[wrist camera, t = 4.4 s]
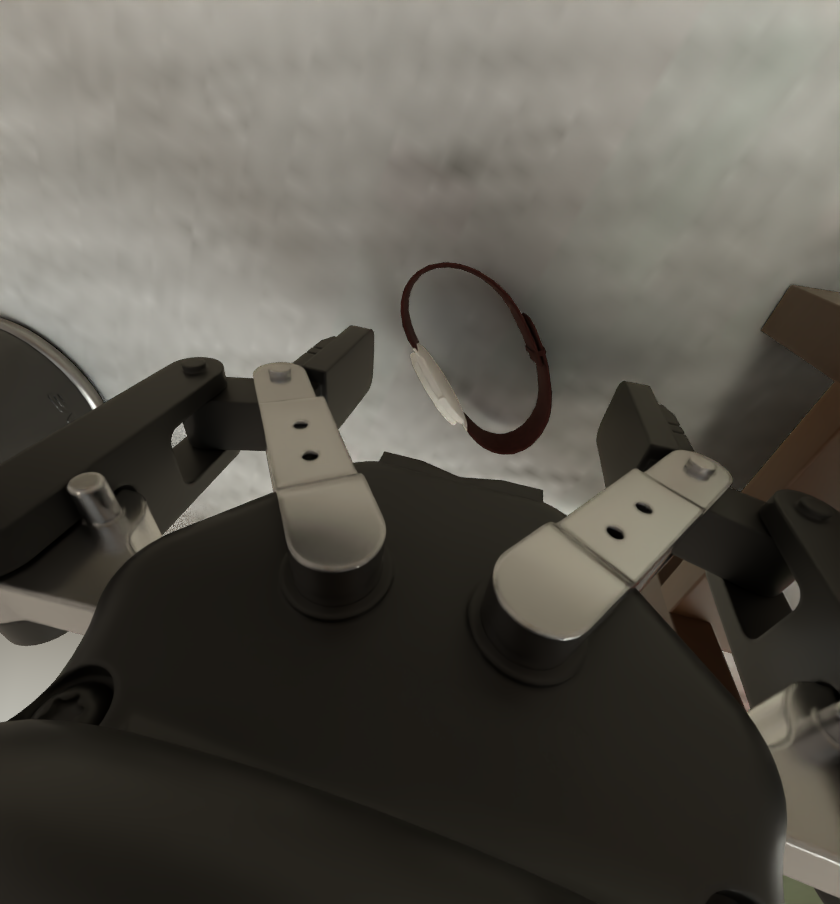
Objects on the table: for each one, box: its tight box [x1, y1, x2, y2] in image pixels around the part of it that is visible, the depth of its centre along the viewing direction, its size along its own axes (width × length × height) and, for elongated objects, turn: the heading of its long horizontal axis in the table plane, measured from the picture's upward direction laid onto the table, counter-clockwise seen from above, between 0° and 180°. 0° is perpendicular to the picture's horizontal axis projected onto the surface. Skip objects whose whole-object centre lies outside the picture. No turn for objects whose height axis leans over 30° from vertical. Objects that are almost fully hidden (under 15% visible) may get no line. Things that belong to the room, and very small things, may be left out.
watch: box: [401, 262, 552, 454], centre depth 14 cm, size 8×5×4 cm, turn 34°
